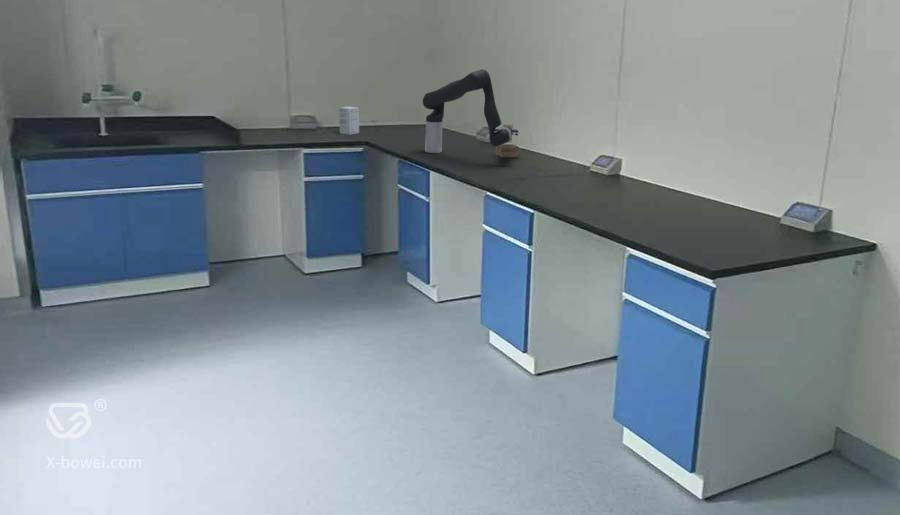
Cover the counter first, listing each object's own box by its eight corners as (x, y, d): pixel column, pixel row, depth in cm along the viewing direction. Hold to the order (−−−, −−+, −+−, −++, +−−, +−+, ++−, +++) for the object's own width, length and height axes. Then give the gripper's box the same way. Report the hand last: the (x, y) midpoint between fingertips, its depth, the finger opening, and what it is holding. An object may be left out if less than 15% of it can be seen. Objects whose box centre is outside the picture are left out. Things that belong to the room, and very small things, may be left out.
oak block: (510, 142, 410) (511, 124, 407) (502, 142, 411) (503, 124, 408) (511, 141, 414) (512, 123, 411) (503, 141, 415) (504, 123, 412)
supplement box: (349, 132, 490) (348, 106, 485) (359, 133, 485) (359, 107, 480) (339, 133, 483) (338, 107, 478) (349, 134, 478) (349, 108, 473)
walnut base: (518, 157, 412) (518, 146, 410) (501, 157, 409) (501, 146, 407) (512, 154, 421) (512, 143, 419) (495, 154, 418) (495, 144, 417)
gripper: (517, 127, 395) (521, 124, 411) (491, 126, 398) (496, 122, 414) (516, 141, 397) (520, 137, 413) (490, 140, 400) (495, 136, 416)
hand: (508, 130), depth 413 cm, fingers closed on oak block, 4 cm apart
